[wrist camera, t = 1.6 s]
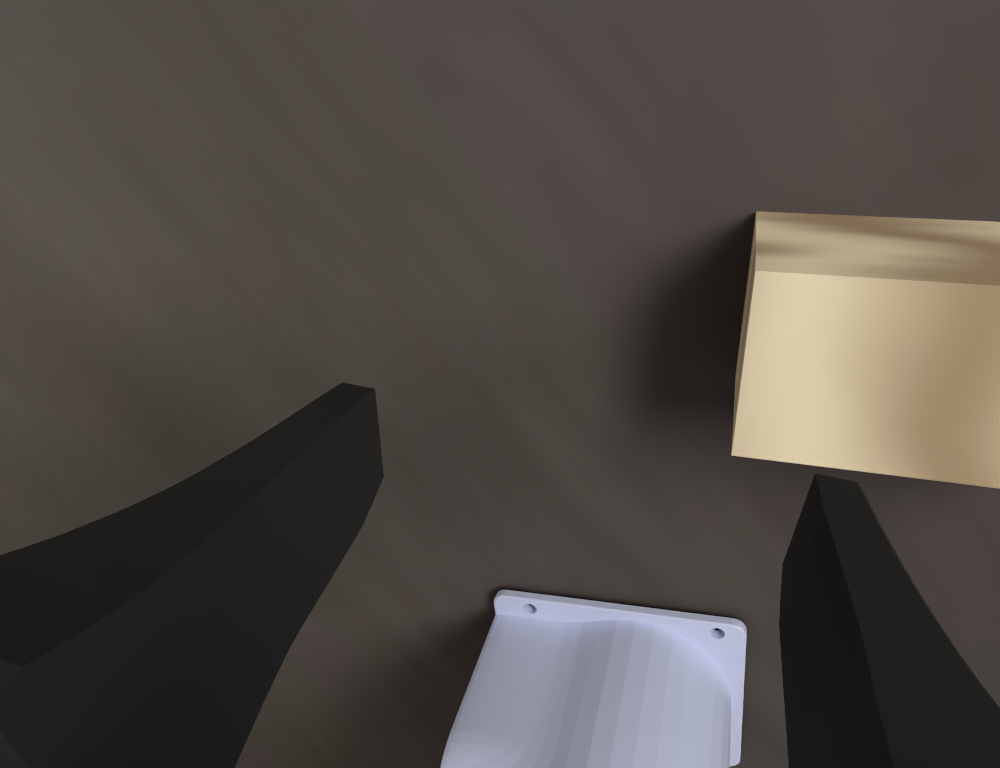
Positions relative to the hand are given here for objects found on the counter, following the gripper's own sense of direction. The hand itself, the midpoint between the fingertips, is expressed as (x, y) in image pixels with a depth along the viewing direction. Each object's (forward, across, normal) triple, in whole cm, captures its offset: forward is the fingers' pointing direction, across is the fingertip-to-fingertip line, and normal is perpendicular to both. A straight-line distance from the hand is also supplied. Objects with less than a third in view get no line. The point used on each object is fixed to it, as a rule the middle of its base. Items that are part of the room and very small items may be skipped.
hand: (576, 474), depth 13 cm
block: (+11, -7, +2) cm, 13 cm away
